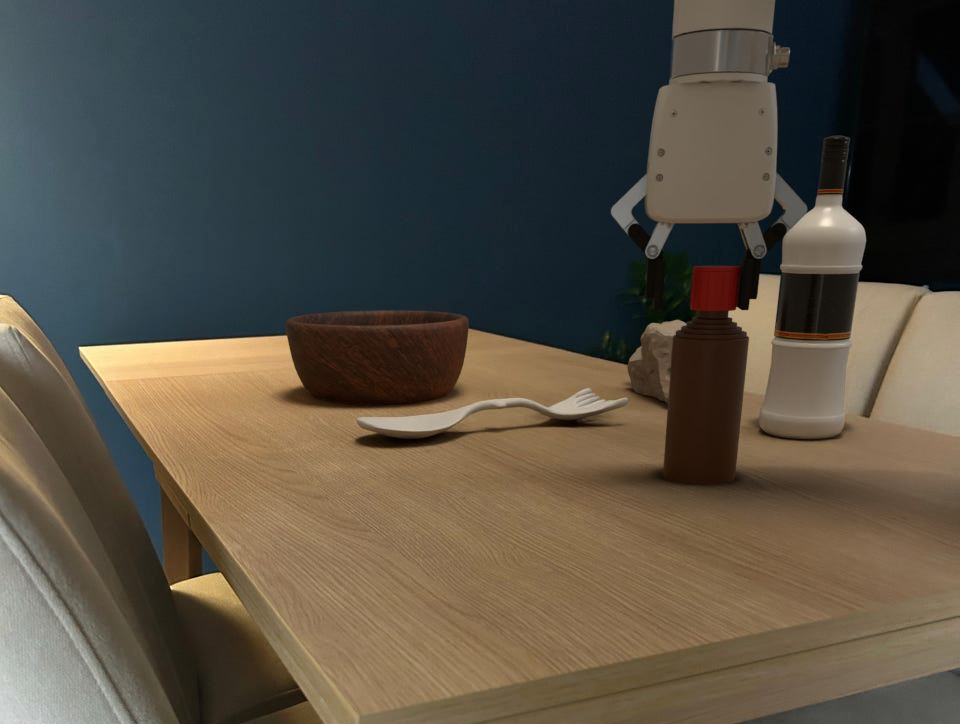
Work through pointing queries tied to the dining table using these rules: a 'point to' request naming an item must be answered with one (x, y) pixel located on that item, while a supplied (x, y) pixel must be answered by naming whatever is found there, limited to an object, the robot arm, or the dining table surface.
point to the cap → (715, 288)
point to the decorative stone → (654, 360)
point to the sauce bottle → (705, 399)
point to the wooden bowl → (378, 354)
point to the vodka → (815, 311)
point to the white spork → (439, 422)
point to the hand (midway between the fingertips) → (699, 306)
